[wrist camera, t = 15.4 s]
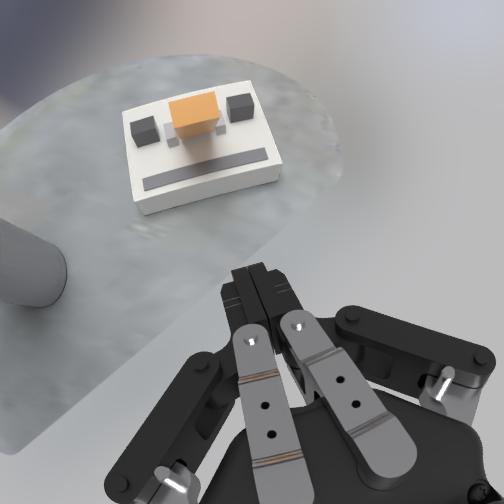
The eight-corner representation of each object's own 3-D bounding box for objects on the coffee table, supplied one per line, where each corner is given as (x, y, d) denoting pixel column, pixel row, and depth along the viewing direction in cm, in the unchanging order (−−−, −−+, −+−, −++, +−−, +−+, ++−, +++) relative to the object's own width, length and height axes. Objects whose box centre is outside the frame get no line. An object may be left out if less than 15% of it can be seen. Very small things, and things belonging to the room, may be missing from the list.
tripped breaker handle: (180, 140, 37) (174, 128, 25) (176, 122, 36) (168, 102, 24) (212, 132, 37) (220, 117, 25) (207, 114, 37) (214, 91, 24)
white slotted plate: (145, 215, 40) (126, 192, 32) (131, 130, 43) (116, 98, 35) (277, 180, 42) (286, 150, 34) (248, 101, 45) (251, 65, 37)
